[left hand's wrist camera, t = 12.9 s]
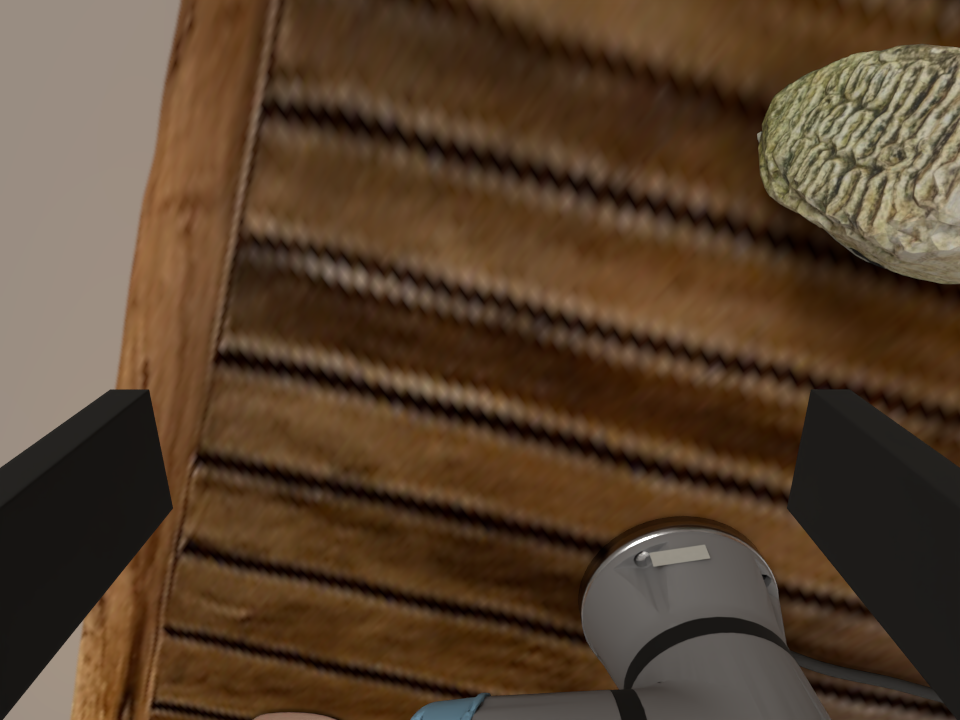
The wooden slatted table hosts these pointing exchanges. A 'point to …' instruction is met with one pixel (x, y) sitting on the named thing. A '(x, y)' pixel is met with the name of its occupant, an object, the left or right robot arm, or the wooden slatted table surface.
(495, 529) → the wooden slatted table surface
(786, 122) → the fossil
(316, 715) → the anatomical model
